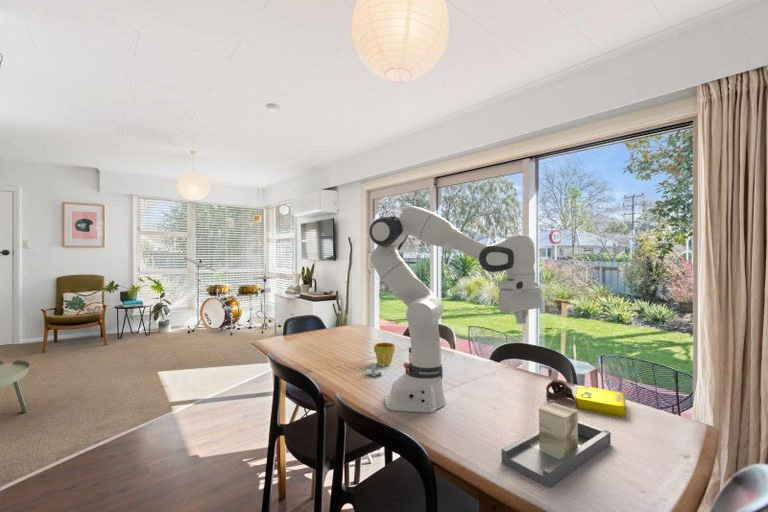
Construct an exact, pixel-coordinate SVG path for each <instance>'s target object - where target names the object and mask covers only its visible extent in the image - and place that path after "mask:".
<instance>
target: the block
mask: <svg viewBox="0 0 768 512" xmlns="http://www.w3.org/2000/svg"><path fill="white" fill-rule="evenodd" d="M578 413H579V411H578V410H577V409H573V408H570V407H567V406H564V405H561V404H559V403H555V402H550V403H548V404H546V405H544V406H542V407H540V408H539V409H538V430H539V445H540V446H542V447H544V448H546V449H549V450H551V451H553V452H555V453H558V454H560V455H562V456H565V455H567V454H569V453H570V452H572V451H573V450H575V449H576V448H578V421H579V420H578V419H579V417H578V415H579V414H578Z"/></svg>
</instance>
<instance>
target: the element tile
mask: <svg viewBox="0 0 768 512" xmlns="http://www.w3.org/2000/svg"><path fill="white" fill-rule="evenodd" d="M576 388H577V389H576V392H575V396H574V397H575V403H574V407H575V409H576V410H579V411H585V412H589V413H595V414H600V415H604V416H605V415H606V416H610V417H615V418H622V419H624V418H626V411H627V409H626V408H627V407H626V406H627V405H626V404H627V403H626V396H625V394H624V393H623V392H621V391H616V390H615V391H614V390H609V389H604V388H597V387H593V386H585V385H579V386H577V387H576ZM623 417H624V418H623Z"/></svg>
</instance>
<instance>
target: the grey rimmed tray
mask: <svg viewBox="0 0 768 512" xmlns="http://www.w3.org/2000/svg"><path fill="white" fill-rule="evenodd" d="M611 441H612V439H611V431H608V430H607V429H603V428H599V427H597V426H595V425H592V424H588V423H586V422H584V421H583V422H582V421H580V420H578V448H576V449H575V450H573V451H572V452H570V453H569V454H567V455H565V456H562V455H560V454H558V453H555V452H553V451H551V450H549V449H546V448H544V447H542V446H540V445H539V429H538V430H537V429H536V431H533V432H531V433H530V434H528V435H525V436H524V437H521V438H520V439H518V440H516V441H514V442H512V443H510V444H508V445H506V446H504V447H502V448H500V449H501V463H502V464H504V465H506V466H508V467H510V468H511V469H513V470H515V471H517V472H519V473H521V474H523V475H525V476H526V477H528V478H530V479H532V480H533V481H536V482H537V483H539V484H541V485H543V486H545V487H547V488H548V489H551V487H553V486H555V485H556V484H557V483H559V482H560V481H562V480H563V479H564V478H566V477H568V475H570V474H571V473H573V472H574V471H576V470H577V469H578V468H580V467H581V466H582V465H584V464H585V463H586V462H588V461H590V460H591V459H593V458H594V457H595V456H597V455H598V454H599V453H600V452H601V453H602V451H604V450H605V449H606V448H608V447H609V446H611V445H612V444H611Z"/></svg>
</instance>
